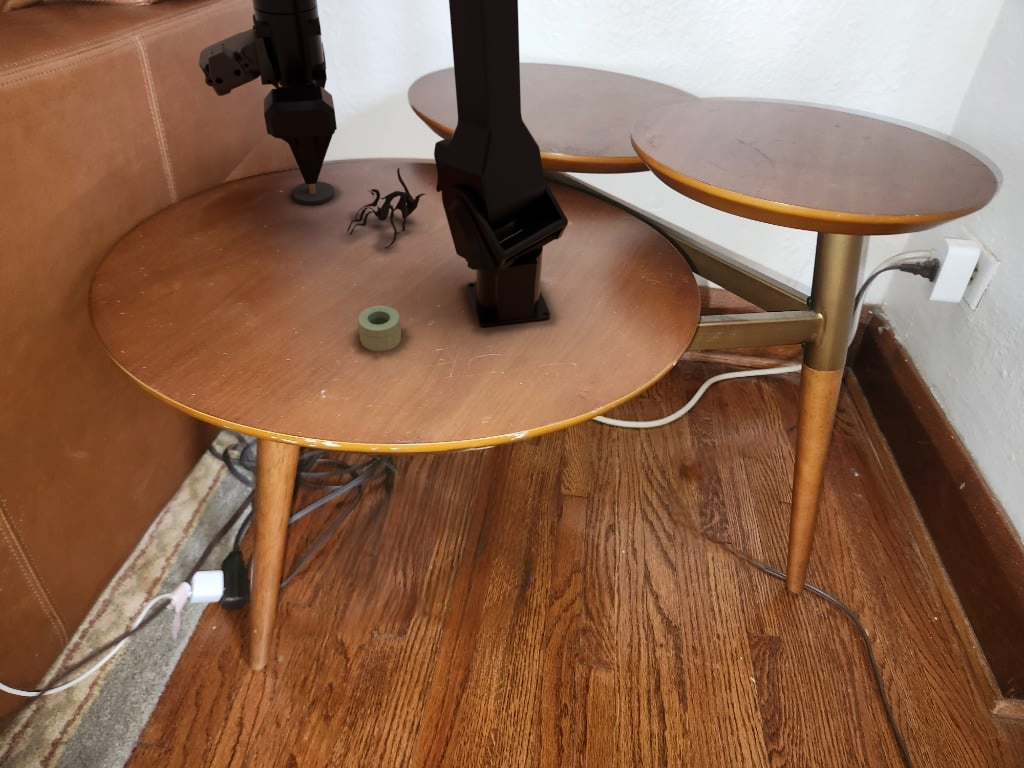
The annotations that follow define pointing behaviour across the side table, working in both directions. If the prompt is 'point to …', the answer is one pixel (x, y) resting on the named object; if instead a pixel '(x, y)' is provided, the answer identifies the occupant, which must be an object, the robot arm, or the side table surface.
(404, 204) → the creature
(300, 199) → the coaster
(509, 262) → the robot arm
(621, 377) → the side table surface
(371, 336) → the pale green thick ring
